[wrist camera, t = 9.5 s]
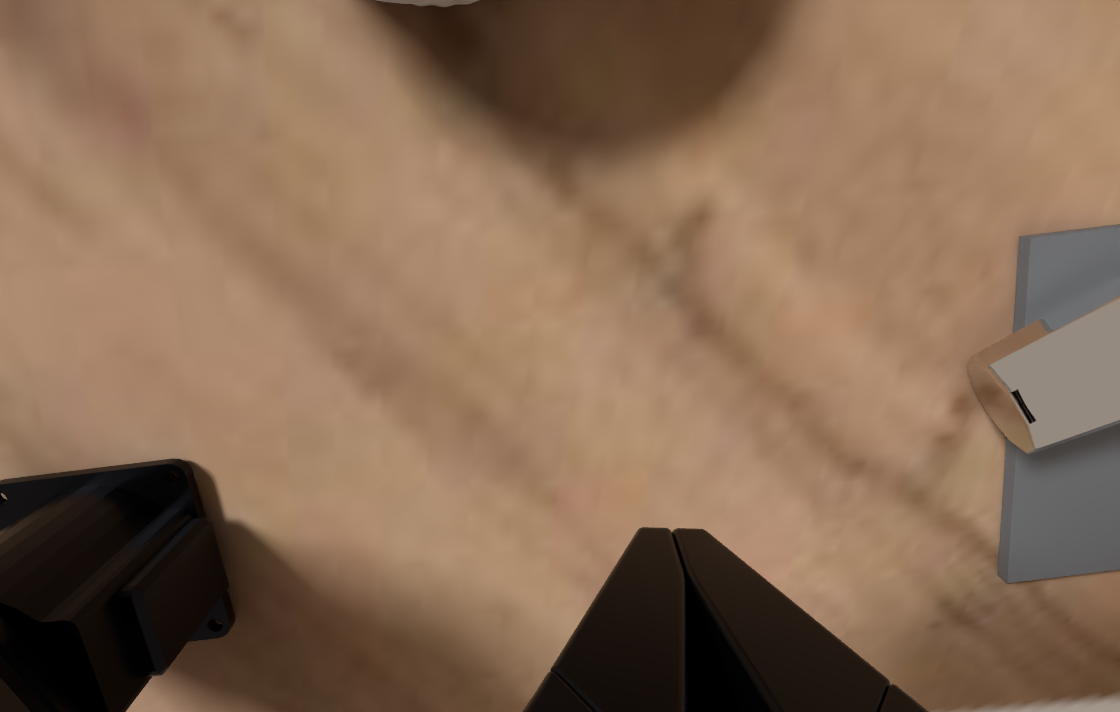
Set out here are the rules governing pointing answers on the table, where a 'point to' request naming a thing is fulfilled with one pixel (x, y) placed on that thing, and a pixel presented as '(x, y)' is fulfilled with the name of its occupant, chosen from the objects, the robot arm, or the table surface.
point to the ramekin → (432, 2)
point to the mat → (1073, 466)
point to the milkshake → (1055, 373)
